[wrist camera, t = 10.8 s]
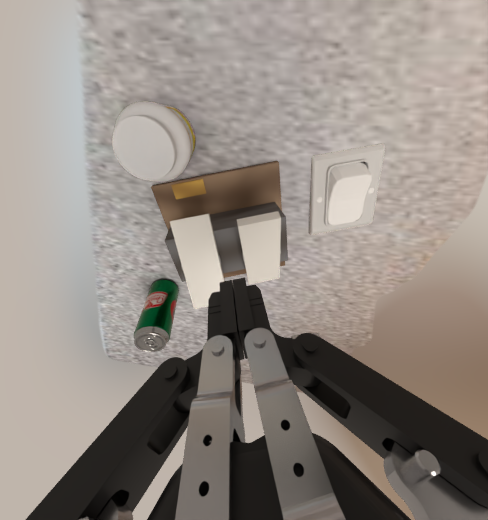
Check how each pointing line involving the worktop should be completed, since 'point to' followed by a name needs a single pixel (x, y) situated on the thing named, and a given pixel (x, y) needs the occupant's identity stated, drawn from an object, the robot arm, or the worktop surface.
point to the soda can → (156, 317)
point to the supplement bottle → (153, 141)
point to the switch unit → (223, 208)
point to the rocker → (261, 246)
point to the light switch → (344, 188)
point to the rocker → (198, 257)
